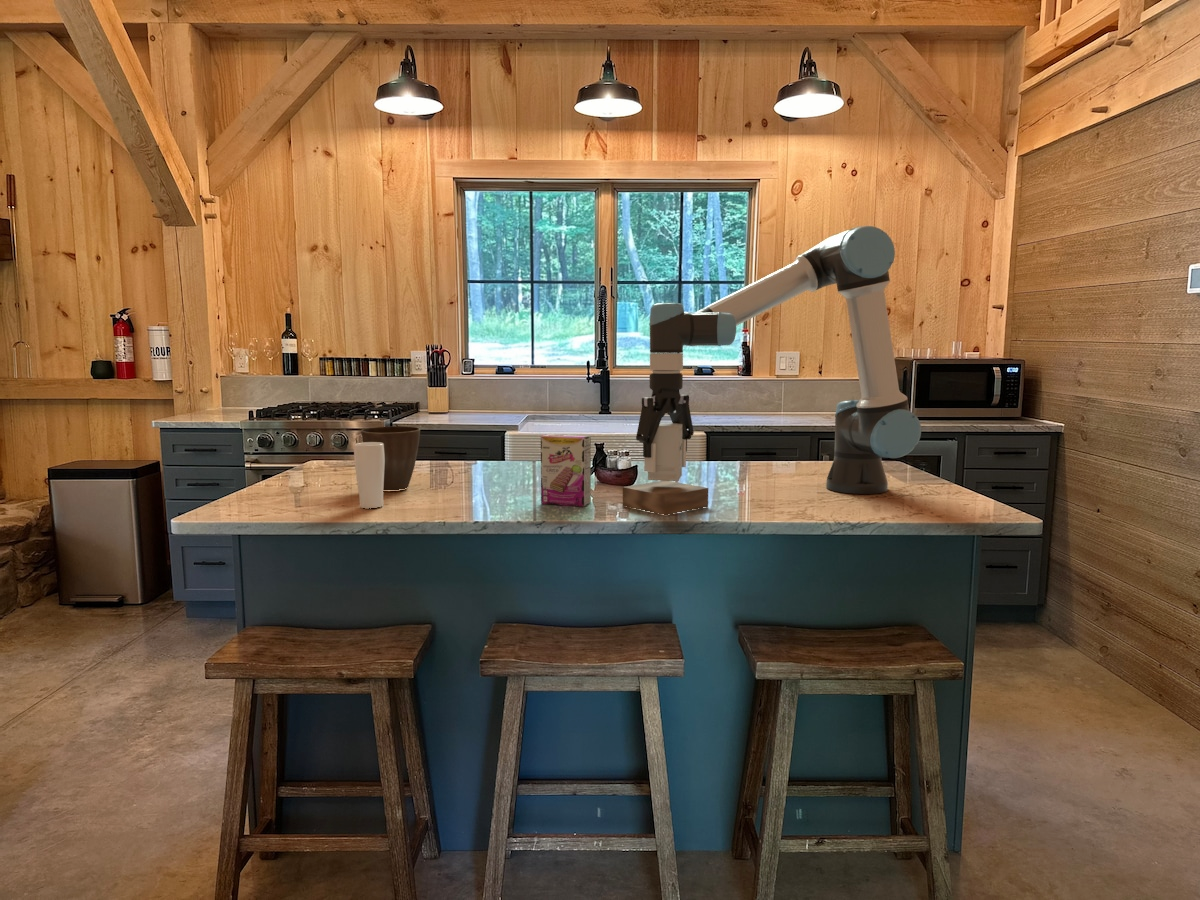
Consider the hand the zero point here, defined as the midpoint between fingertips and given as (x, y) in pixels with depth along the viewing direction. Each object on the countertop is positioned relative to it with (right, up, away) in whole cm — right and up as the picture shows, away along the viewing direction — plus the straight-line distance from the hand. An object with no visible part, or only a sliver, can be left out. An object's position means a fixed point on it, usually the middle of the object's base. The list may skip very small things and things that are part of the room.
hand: (665, 469), depth 181 cm
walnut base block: (0, -9, +1) cm, 9 cm away
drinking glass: (-69, -9, +2) cm, 69 cm away
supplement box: (0, -2, 0) cm, 2 cm away
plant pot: (-69, -6, +25) cm, 74 cm away
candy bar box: (-23, -9, +5) cm, 25 cm away
